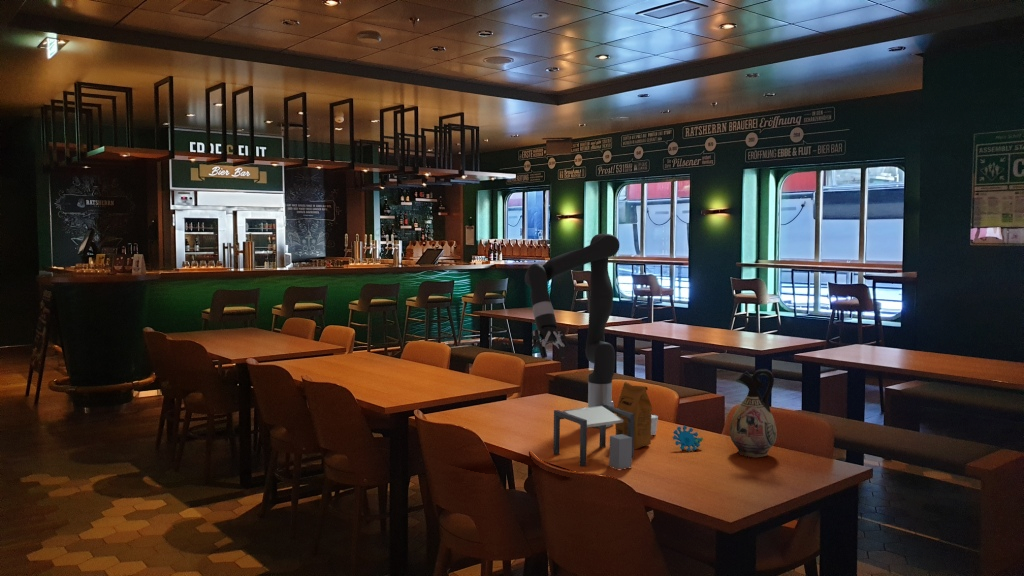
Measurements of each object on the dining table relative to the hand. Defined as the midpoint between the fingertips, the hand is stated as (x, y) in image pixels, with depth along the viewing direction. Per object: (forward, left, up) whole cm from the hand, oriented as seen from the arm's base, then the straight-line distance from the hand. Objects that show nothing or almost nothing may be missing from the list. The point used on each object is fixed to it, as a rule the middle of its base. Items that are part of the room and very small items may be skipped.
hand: (554, 357), depth 278 cm
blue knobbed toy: (-35, +32, -31) cm, 57 cm away
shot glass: (-37, +10, -30) cm, 49 cm away
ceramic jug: (-51, +49, -30) cm, 77 cm away
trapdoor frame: (-1, +24, -30) cm, 38 cm away
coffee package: (-22, +19, -30) cm, 42 cm away
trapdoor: (-1, +23, -17) cm, 29 cm away
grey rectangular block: (-1, +39, -20) cm, 44 cm away
